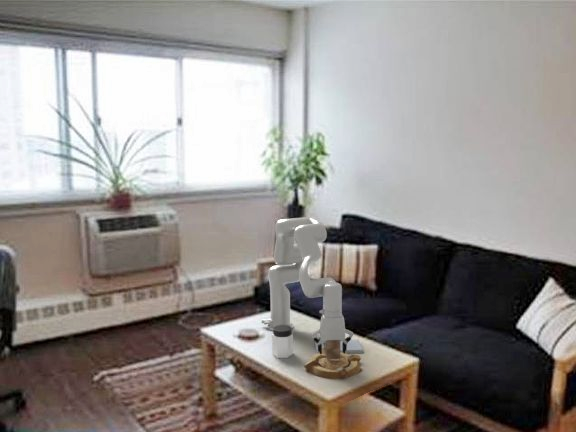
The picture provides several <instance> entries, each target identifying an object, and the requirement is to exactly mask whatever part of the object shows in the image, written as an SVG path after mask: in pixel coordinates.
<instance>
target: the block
mask: <svg viewBox="0 0 576 432" xmlns="http://www.w3.org/2000/svg"><path fill="white" fill-rule="evenodd" d="M325 354H326V358H327V359H340V340H327V341H325Z"/></svg>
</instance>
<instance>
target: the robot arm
mask: <svg viewBox="0 0 576 432" xmlns="http://www.w3.org/2000/svg"><path fill="white" fill-rule="evenodd" d="M274 231H275V237H276V238H275V244H274V251H273V260H274V263H275V265H273V266H271V267H270V268H268V272H267V276H268V281H269V291H270V292H269V295H270V297H269V298H270V300H269V301H270V316H269V318H268V319H265V318H264V319H262V318H261V324H263V325H267V329H268V330H269V331H272V332H273V328H274V327H275V326H278V325H288V326H290V327H291V328H292V329H294V324H293V322H291V292H290V290H289V289H288V288H287V286H286V285H288V284H291V283H292V284H293V283H298V282H299V284H300V285H301V286H300V287H301V289H302V292H303V294H304V296H305V297H306V298H308V299H309V298H310V299H314V298H321V297H322V304H323V305H322V307H323V308H322V309H320V310H319V314H321V317H320V322H319V329H317V330H315V331H312V332H311V334H310V335H311V337H312V339H313V341H314V343H315V342H316V343H317V344H318V351H319V352H320V354H322V344H321V343H322V342H323V341H327V340H340V341H343V342H342V351H343V353H344V354H345V351H347V343H348V342H349V341H350V340H352V338H353V336H354V332H353V331H351V330H349V329H346V326H345V325H346V324H345V323H346V322H345V318H344V315H343V313H342V312H343V310H342V309H343V308H342V307H343V306H342V305H343V303H342V302H343V301H342V300H343V299H342V297H343V287H342V284H341V283H339V282H336V280H335V279H334V278H332V277H330V276H329V277H321V278H314V279H310V275H309V273H308V268H309V267H310V266H312V265H313V264H315V263H316V262H318V261H319V260H320V259H321V258H322V255H323V254H322V251H321V249H320V246H319V244H318V243H323V242H325V241H326V239H327V238H328V237H327V236H328V235H327V234H328V233H327V229H326V228H325V226H324V224H322V223H321V222H319V220H316V219H314V218H312V217H311V216H310V217H308V216H307V217H305V216H304V217H293V218H281V219H278V220H276V223H275V226H274ZM295 241H296V243H295ZM346 334H347V335H348V336H347V337H346ZM317 335H319V338H318V337H317Z"/></svg>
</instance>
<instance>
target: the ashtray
mask: <svg viewBox="0 0 576 432" xmlns="http://www.w3.org/2000/svg"><path fill="white" fill-rule="evenodd" d="M361 360H362V358H361V356H360V355H359V354H350V353H345V354H344V353H341V352H340V359H327V358H326V354H325V348H324V347H323V348H322V354H320V353H317V352H316V353H315V354H313V355H312V356H311V357H310V358H309V359H308V361H307V362H306V363H304V365H303V366H304V368H305V371H306V372H307V373H310V374H312V375H314V376H317V377H320V378H324V379H329V380H330V379H331V380H345V379H348V378H350V377H354V376H357V375H358V374H360V371H361V370H362V368H361V365H360V361H361Z"/></svg>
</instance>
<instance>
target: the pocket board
mask: <svg viewBox="0 0 576 432" xmlns="http://www.w3.org/2000/svg"><path fill="white" fill-rule="evenodd" d="M342 342H343V341H340V352H341V353H343V351H342ZM321 344H322V348H323V347H324V348H325V341H323V342H322V343H321ZM314 345H315V350H316V354H317V353H320V352H319V351H318V344H317V343H316V342H315V341H314ZM345 353H346V354H363V353H364V349H363V346H362V344H361V342H360V340H359V338H357V339H351V340H350V341H349V342H348V343H347V351H345Z"/></svg>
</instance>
